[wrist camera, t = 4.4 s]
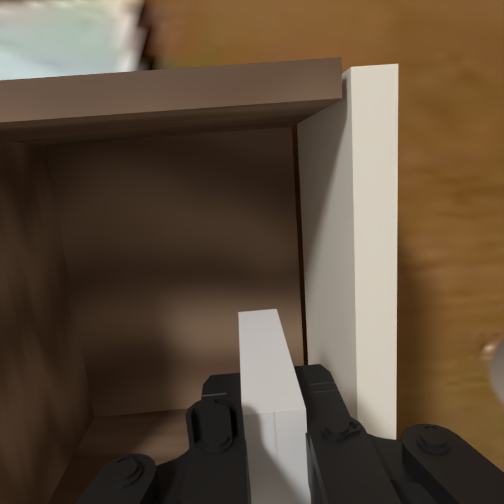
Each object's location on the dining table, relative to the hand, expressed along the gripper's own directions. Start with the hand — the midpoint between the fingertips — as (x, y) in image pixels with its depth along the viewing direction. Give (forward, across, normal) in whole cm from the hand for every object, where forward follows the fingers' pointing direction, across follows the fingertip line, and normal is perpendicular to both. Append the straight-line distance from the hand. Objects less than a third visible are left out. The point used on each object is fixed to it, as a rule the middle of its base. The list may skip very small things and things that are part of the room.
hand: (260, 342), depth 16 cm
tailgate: (+10, -3, 0) cm, 10 cm away
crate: (+11, +5, 0) cm, 12 cm away
